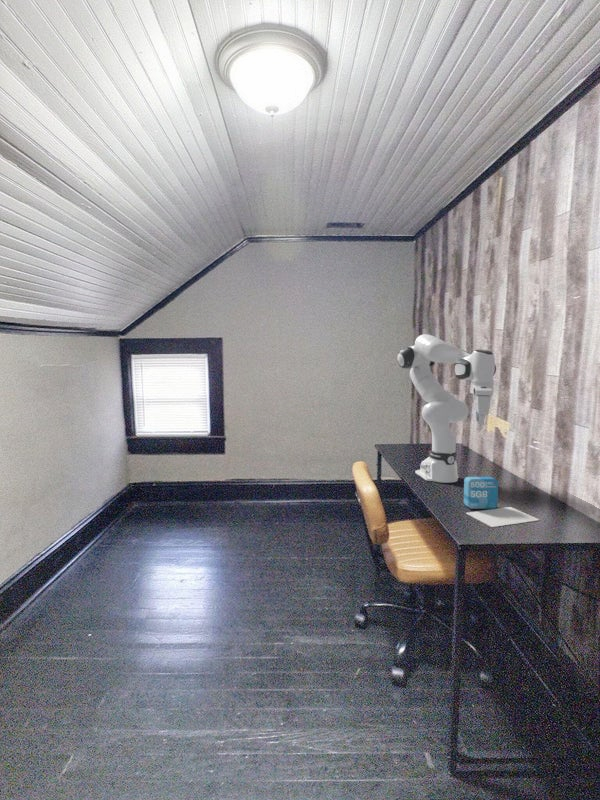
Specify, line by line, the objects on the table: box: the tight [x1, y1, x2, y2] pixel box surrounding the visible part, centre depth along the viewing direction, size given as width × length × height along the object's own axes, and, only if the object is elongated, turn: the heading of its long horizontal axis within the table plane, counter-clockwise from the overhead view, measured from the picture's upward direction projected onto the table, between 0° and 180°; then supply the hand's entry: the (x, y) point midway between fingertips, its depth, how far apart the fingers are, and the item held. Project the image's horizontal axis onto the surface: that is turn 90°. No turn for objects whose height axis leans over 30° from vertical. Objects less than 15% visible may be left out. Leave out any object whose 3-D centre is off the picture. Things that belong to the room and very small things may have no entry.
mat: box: [465, 506, 540, 528], centre depth 162 cm, size 14×22×1 cm, turn 108°
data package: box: [463, 476, 499, 510], centre depth 172 cm, size 12×4×12 cm, turn 92°
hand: (479, 422), depth 176 cm, fingers open, 8 cm apart
